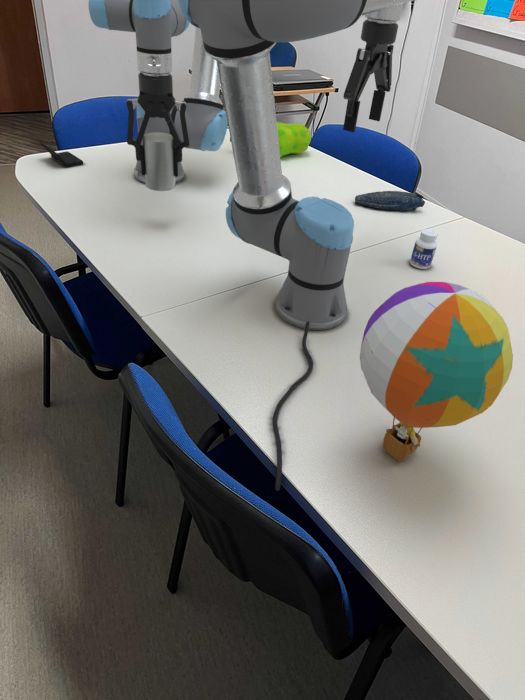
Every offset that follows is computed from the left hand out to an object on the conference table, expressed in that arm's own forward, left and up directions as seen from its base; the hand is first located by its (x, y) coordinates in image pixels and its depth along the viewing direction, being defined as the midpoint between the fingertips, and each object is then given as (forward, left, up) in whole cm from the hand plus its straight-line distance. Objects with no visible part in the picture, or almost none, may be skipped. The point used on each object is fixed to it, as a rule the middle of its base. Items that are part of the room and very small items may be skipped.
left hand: (160, 173), depth 130 cm
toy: (+74, +50, -14) cm, 91 cm away
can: (0, 0, -3) cm, 3 cm away
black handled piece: (-41, -39, -14) cm, 59 cm away
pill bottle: (+11, +68, -14) cm, 70 cm away
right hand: (-1, +49, +15) cm, 51 cm away
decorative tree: (-66, +29, -14) cm, 73 cm away
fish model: (-25, +65, -14) cm, 71 cm away
